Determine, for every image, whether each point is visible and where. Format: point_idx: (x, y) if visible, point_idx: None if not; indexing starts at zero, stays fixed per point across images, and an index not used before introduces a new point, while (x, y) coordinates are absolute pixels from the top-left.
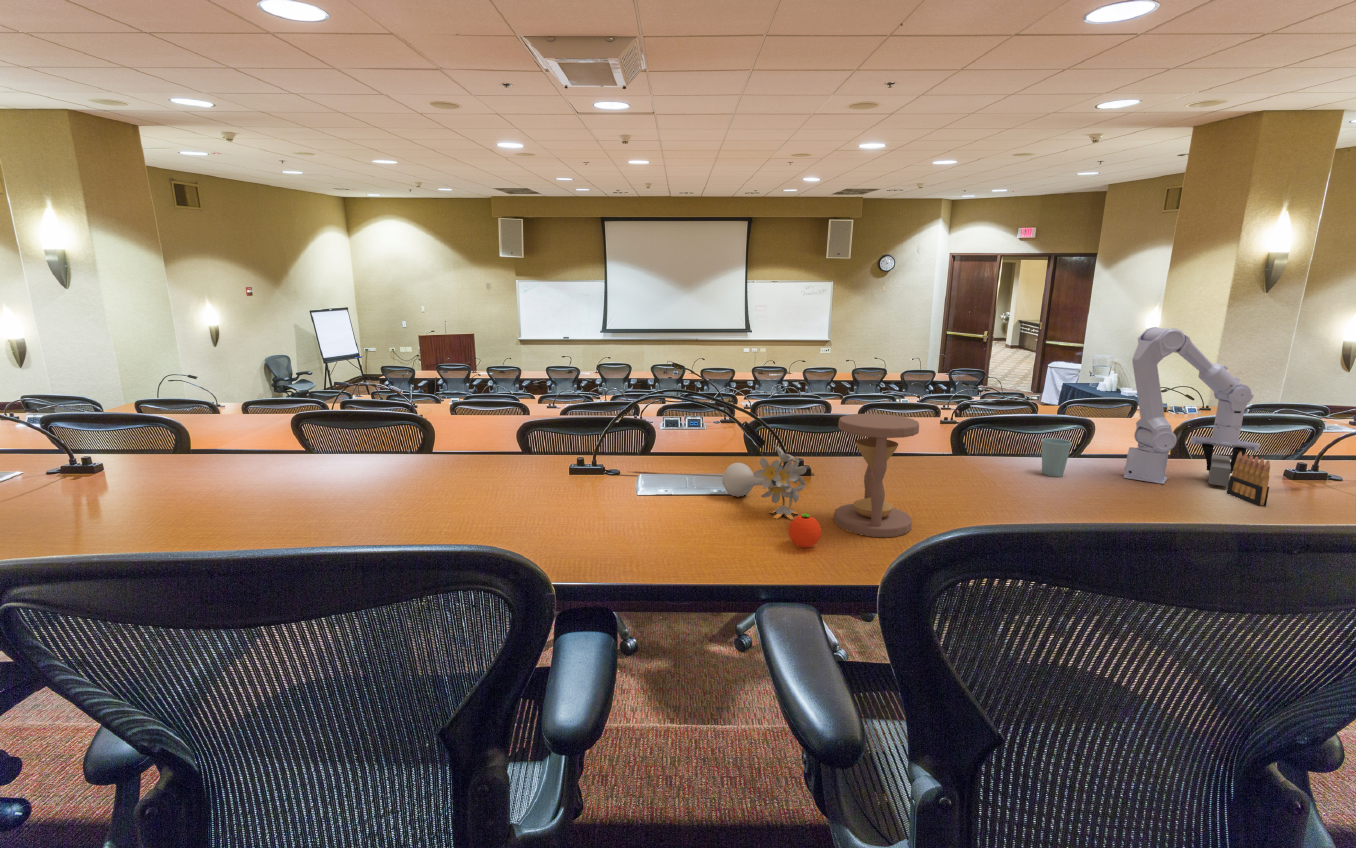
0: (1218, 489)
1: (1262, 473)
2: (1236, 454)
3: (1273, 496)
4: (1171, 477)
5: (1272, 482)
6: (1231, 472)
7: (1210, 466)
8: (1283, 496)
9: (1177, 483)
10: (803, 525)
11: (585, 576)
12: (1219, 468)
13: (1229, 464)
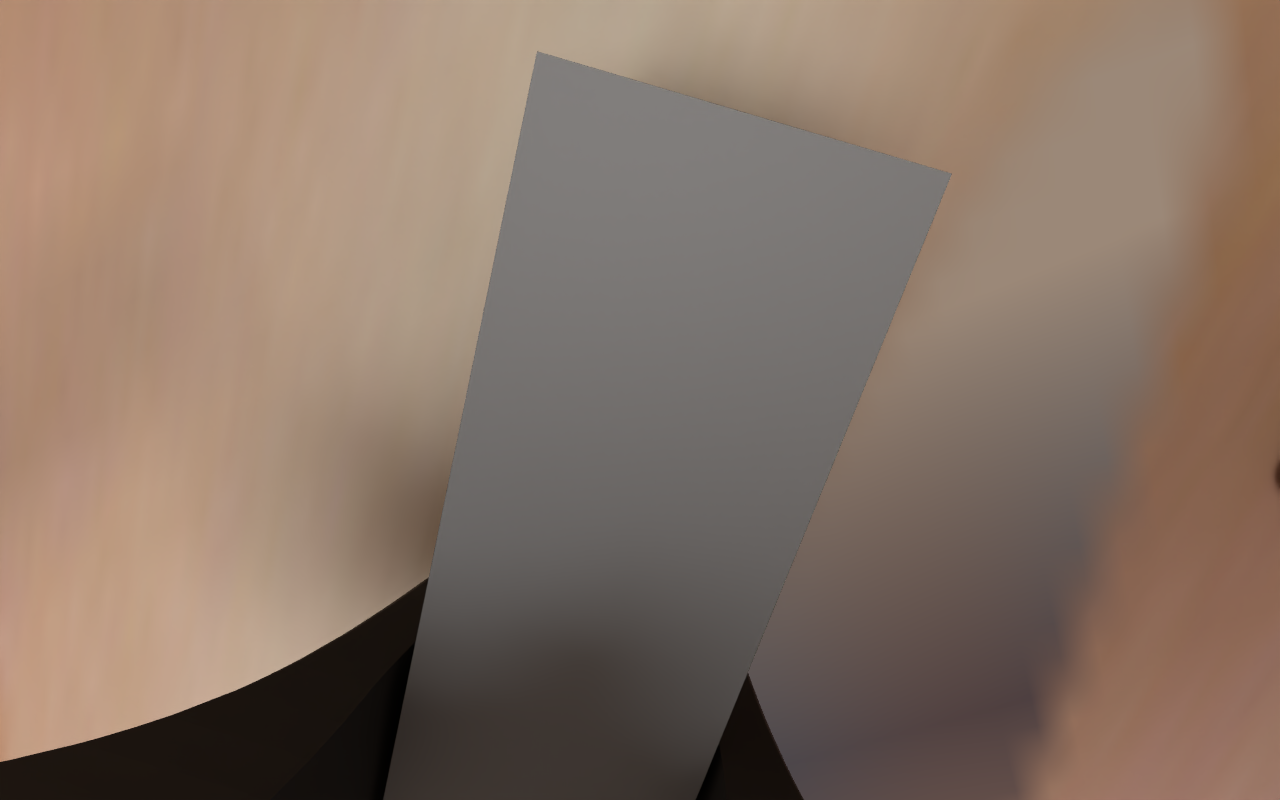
0: (728, 107)
1: None
2: (192, 794)
3: (112, 10)
4: (1135, 596)
5: (69, 726)
6: None
7: None
8: (8, 79)
9: (1237, 250)
10: None
11: None
12: (774, 125)
13: (448, 566)
